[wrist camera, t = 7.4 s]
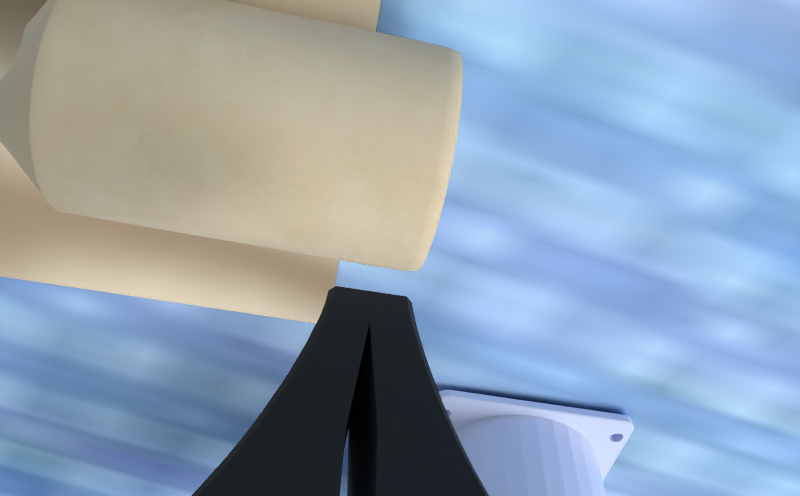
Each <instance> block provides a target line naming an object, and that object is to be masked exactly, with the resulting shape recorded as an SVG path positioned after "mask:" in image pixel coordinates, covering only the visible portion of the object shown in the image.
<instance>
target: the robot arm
mask: <svg viewBox="0 0 800 496" xmlns="http://www.w3.org/2000/svg"><path fill="white" fill-rule="evenodd" d="M446 409H447V410H446ZM348 429H349V441H348V490H347V496H606V493H605V489H604V484H603V480H604V478H605V476H606V475H607V473H608V471H609V470H610V468H611V466H612V465H613V463H614V461H615V460H616V458H617V456H618V455H619V453H620V451H621V450H622V448H623V446H624V445H625V443H626V441H627V440H628V438H629V436H630V435H631V433H632V431H633V429H634V426H633V423H632V420H631V418H630V417H628V416H626V415H622V414H615V413H608V412H601V411H594V410H587V409H580V408H573V407H566V406H559V405H552V404H545V403H538V402H531V401H524V400H517V399H510V398H503V397H496V396H489V395H483V394H476V393H469V392H462V391H455V390H442V391H438V389H437V386H436V384H435V381H434V379H433V376H432V373H431V371H430V368H429V365H428V362H427V359H426V356H425V353H424V350H423V347H422V343H421V340H420V337H419V333H418V330H417V326H416V322H415V317H414V313H413V307H412V302H411V301H410V300H409V299H408V298H407V297H405V296H399V295H392V294H385V293H379V292H372V291H365V290H358V289H352V288H345V287H338V286H335V287H334V288H332V289H330V290H328V294H327V298H326V301H325V304H324V307H323V309H322V312H321V314H320V317H319V319H318V321H317V323H316V325H315V327H314V329H313V331H312V333H311V335H310V337H309V339H308V341H307V343H306V345H305V346H304V348H303V350H302V351H301V353H300V355H299V356H298V358H297V360H296V362H295V363H294V365H293V367H292V368H291V370H290V372H289V373H288V375H287V376H286V378H285V380H284V381H283V382H282V384H281V385H280V387H279V388H278V390H277V391H276V393H275V394H274V395H273V397H272V398H271V400H270V401H269V403H268V404H267V406H266V407H265V409H264V410H263V411H262V413H261V414H260V415H259V417H258V418H257V419H256V421H255V422H254V423H253V425H252V426H251V427H250V429H249V430H248V431H247V432H246V434H245V435H244V436H243V438H242V439H241V440H240V441H239V442H238V444H237V445H236V446H235V447H234V449H233V450H232V451H231V452H230V453H229V455H228V456H227V457H226V458H225V459H224V460H223V462H222V463H221V464H220V465H219V466H218V467H217V468H216V469H215V470H214V472H213V473H212V474H211V475H210V476H209V477H208V478H207V479H206V481H205V482H204V483H203V484H202V485H201V486H200V487H199V488H198V489H197V490H196V491H195V493H194V494H193V495H192V496H339V495H340V484H341V474H342V463H343V453H344V447H345V442H346V438H347V433H348Z"/></svg>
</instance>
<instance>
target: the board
mask: <svg viewBox="0 0 800 496" xmlns="http://www.w3.org/2000/svg"><path fill="white" fill-rule="evenodd" d="M47 1H48V0H0V80H1V79H2V78H3V76H4V75H5V74H6V73H7V72H8V71H9V69H10V68H11V67H12V65H13V63H14V60H15V58H16V55H17V52H18V50H19V47H20V45H21V42H22V40H23V33H24V29H25V27H26V25H27V24H28V22H29V21H30V20H31V19H32V18H33V17H34V16H35V15H36V14H37V12H38V11H39V10H40V9H41V8H42V6H43V5H44V4H45V3H46V2H47ZM223 1H228V2H233V3H238V4H243V5H247V6H252V7H257V8H262V9H267V10H272V11H277V12H282V13H287V14H291V15H296V16H301V17H306V18H311V19H316V20H321V21H326V22H331V23H335V24H340V25H345V26H350V27H355V28H360V29H365V30H370V31H375V32H376V29H377V23H378V17H379V11H380V4H381V0H223ZM338 263H339V260H336V259H330V258H324V257H318V256H312V255H307V254H301V253H295V252H289V251H283V250H278V249H272V248H266V247H260V246H254V245H249V244H243V243H237V242H231V241H225V240H219V239H214V238H208V237H202V236H196V235H190V234H185V233H179V232H173V231H167V230H161V229H156V228H150V227H144V226H138V225H132V224H127V223H121V222H115V221H109V220H103V219H98V218H92V217H86V216H80V215H75V214H69V213H63V212H59V211H57V210H55V209H54V208H53V207H52V206H51V205H50V204H49V203H48V202H47V201H46V199H45V198H44V197H43V196H42V194H41V193H40V192H39V191H38V189H37V188H36V187H35V185H34V184H33V183H32V181H31V180H30V179H29V177H28V176H27V175H26V173H25V172H24V171H23V169H22V168H21V167H20V165H19V164H18V163H17V161H16V160H15V159H14V158H13V156H12V155H11V154H10V153H9V151H8V150H7V149H6V148H5V147H4V146H3V145H2V143H1V142H0V276H2V277H8V278H15V279H22V280H28V281H35V282H42V283H49V284H55V285H62V286H69V287H75V288H82V289H89V290H95V291H102V292H109V293H116V294H122V295H129V296H136V297H142V298H149V299H156V300H162V301H169V302H176V303H183V304H189V305H196V306H203V307H209V308H216V309H223V310H229V311H236V312H243V313H250V314H256V315H263V316H270V317H276V318H283V319H290V320H296V321H303V322H310V323H317V321H318V319H319V317H320V314H321V312H322V309H323V307H324V304H325V301H326V298H327V294H328V290H330V289H332V288H334V287H335V281H336V275H337V269H338Z"/></svg>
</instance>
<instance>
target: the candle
mask: <svg viewBox="0 0 800 496" xmlns="http://www.w3.org/2000/svg"><path fill="white" fill-rule="evenodd" d="M462 82H463V63H462V56H461V53H460V52H458V51H455V50H453V49H450V48H448V47H444V46H440V45H436V44H431V43H427V42H422V41H418V40H414V39H409V38H404V37H399V36H394V35H389V34H384V33H379V32H375V31H370V30H365V29H360V28H355V27H350V26H345V25H340V24H335V23H331V22H326V21H321V20H316V19H311V18H306V17H301V16H296V15H291V14H287V13H282V12H277V11H272V10H267V9H262V8H257V7H252V6H247V5H243V4H238V3H233V2H228V1H223V0H48V1H47V2H46V3H45V4H44V5H43V6H42V8H41V9H40V10H39V11H38V12H37V14H36V15H35V16H34V17H33V18H32V19H31V20H30V21H29V22H28V24H27V25H26V27H25V29H24V33H23V40H22V42H21V45H20V47H19V50H18V52H17V55H16V58H15V60H14V63H13V65H12V67H11V68H10V69H9V71H8V72H7V73H6V74H5V75H4V76H3V78H2V79H1V80H0V142H1V143H2V145H3V146H4V147H5V148H6V149H7V150H8V151H9V153H10V154H11V155H12V156H13V158H14V159H15V160H16V161H17V163H18V164H19V165H20V167H21V168H22V169H23V171H24V172H25V173H26V175H27V176H28V177H29V179H30V180H31V181H32V183H33V184H34V185H35V187H36V188H37V189H38V191H39V192H40V193H41V194H42V196H43V197H44V198H45V199H46V201H47V202H48V203H49V204H50V205H51V206H52V207H53V208H54V209H55V210H57V211H59V212H63V213H69V214H75V215H80V216H86V217H92V218H98V219H103V220H109V221H115V222H121V223H127V224H132V225H138V226H144V227H150V228H156V229H161V230H167V231H173V232H179V233H185V234H190V235H196V236H202V237H208V238H214V239H219V240H225V241H231V242H237V243H243V244H249V245H254V246H260V247H266V248H272V249H278V250H283V251H289V252H295V253H301V254H307V255H312V256H318V257H324V258H330V259H336V260H341V261H347V262H353V263H359V264H365V265H370V266H377V267H384V268H390V269H397V270H404V271H418V270H419V269H420V268H421V267H422V265H423V263H424V261H425V259H426V257H427V254H428V252H429V249H430V247H431V244H432V241H433V238H434V236H435V232H436V229H437V226H438V223H439V219H440V215H441V212H442V208H443V204H444V200H445V196H446V191H447V187H448V182H449V177H450V173H451V168H452V162H453V157H454V152H455V146H456V140H457V133H458V126H459V119H460V110H461V100H462Z"/></svg>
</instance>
